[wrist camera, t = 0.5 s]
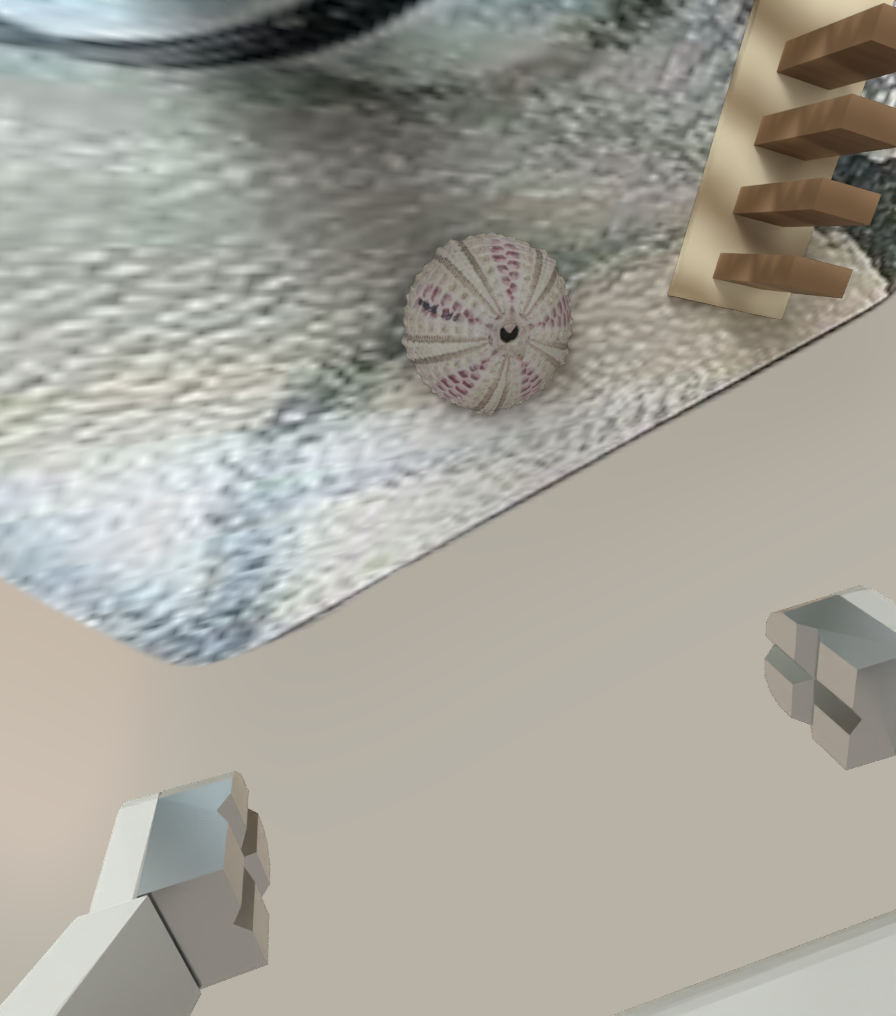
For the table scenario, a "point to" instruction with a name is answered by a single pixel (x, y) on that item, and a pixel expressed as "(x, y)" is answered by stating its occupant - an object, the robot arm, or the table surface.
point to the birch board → (756, 157)
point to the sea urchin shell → (487, 322)
